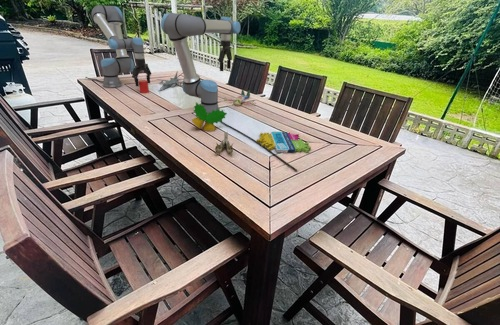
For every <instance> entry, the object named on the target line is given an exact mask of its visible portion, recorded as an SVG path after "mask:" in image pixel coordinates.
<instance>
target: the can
mask: <svg viewBox="0 0 500 325" xmlns="http://www.w3.org/2000/svg"><path fill="white" fill-rule="evenodd" d="M138 83H139V86H138V87H139V88H138V89H139V93H141V94H149V92H150V90H149V83H148V81H147V79H140V80H139V79H138Z"/></svg>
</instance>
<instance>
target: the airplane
mask: <svg viewBox="0 0 500 325" xmlns="http://www.w3.org/2000/svg"><path fill="white" fill-rule="evenodd" d="M178 73H179V72H178V70H177V71H176V73H175V75H174V77H169V79H170V80H167V79H159V78H157V79H156V80H157V81H160V83H159V84H162V83H163V85H162V86H160V87H159V90H158V92H159V91H164V90H166V89H167V88H173V87H175V86H177V85H179V86H182V85H183V84H182V83H183V79H184V78H179V77H178Z"/></svg>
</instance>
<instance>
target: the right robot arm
mask: <svg viewBox="0 0 500 325" xmlns="http://www.w3.org/2000/svg"><path fill="white" fill-rule="evenodd" d="M160 28H161V30H162V32H163V33H164V34H165V35H167V36H168V39H169V42H171V43H173V46H174V49H175V52H176V56H177V58H178V62H179V65H180V68H181V71H182V74H183V78H182V79H183V80H182V82H183V83H182V84H181V88H182V92H184V94H185V95H187V96H190V97H194V98H198V99H200V104H201V106H204V109H206V112H208V113H211V112H212V110H214V111H216V110H217V109H219V111H221V110H220V107H219V102H218V99H219V88H218V83H217V82H216V81H214V80H211V79H201V76H200V75H199V74H198V73H197V71H196V67H195V64H194V60H193V56H192V53H191V49H190V47H189V42H188V38H189V37H195V36H203V35H205V34H219V35H220V46H221V47H220V48H219V49H220V50H219V56H218V61H217V62H219V71H220V72H224V65H225V64H224V59H225V57H226V59H227V61H226V69H228V70H231V67H232V66H231V62H232V60H233V55H232V49H231V44H232V42H231V40H232V34H233V35H235V34H236V35H238V34H239V33H240V32H241V23H240V22H239V21H236V20H232V18H231V17H229V16H221V17H220V19H207V18H206V19H205V18H203V17H201V16H195V15H191V14H187V13H176V12H167V13H164V15H162V18H161V20H160ZM208 113H207V115H208ZM219 122H220V123H221V124H223V125H225V126H226V127H228V128H230V129H232V130H234V131H235V132H238V133H240V134H241V135H243V136H245V137H246V138H248V139H249V140H251V141H253V142H255V144H257V145H258V146H260V147H261V148H263V149H265V150H266V151H267V152H269V153H270V154H272V155H273V156H275V158H277V159H279V160H280V161H281V162H282V163H284V164H285V165H287V166H288V167H290V168H291V169H293V170H294V171H295V172H297V171H298V169H297V168H296V167H294V166H293V165H291V164H289V163H288V162H286V161H285V160H284V159H283V158H281V157H280V156H278V155H277V154H275V153H274V152H273V151H272V150H268V148H266V147H265V146H262V143H258V142H257V140H256V139H253V138H252V137H250V136H249V135H248V134H246V133H244V132H242V131H240V130H238V129H236V128H234V127H233V126H231V125H229V124H227V123H225V122H223V121H222V122H221V121H219Z"/></svg>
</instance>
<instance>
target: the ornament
mask: <svg viewBox="0 0 500 325" xmlns="http://www.w3.org/2000/svg"><path fill="white" fill-rule="evenodd" d="M193 112H194V113H195V118H192V119H191V122H192V123H193V125H195V127H197V128H198V129H202V130H203V131H206V132H212V131H213V132H214V131H215V130H216V126H215V124H218V123H219V122H220V121H221V122H223V119H226V115H227V114H228V113H227V112H224V110H223V109H221V110H220V111H219V109H217V110H216V111H214V110H212V112H211V113H208V112H206V109H204V106H201V103H198V102H195V105H194V106H193ZM207 113H208V115H207ZM221 122H220V123H221ZM214 123H215V124H214Z"/></svg>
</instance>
